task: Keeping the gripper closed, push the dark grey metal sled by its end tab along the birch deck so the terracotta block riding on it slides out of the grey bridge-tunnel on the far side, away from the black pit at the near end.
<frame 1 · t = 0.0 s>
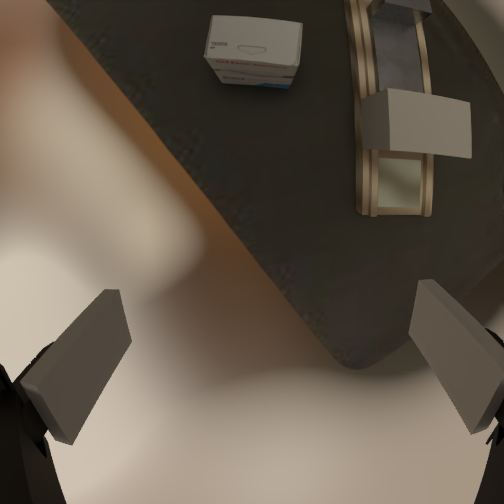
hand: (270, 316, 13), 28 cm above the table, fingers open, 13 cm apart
ink box: (256, 68, 34), on the table
sled: (407, 67, 27), point 6 cm above the table, slide at 0.0 cm
deck: (388, 86, 34), on the table
tunnel: (390, 127, 35), resting on deck
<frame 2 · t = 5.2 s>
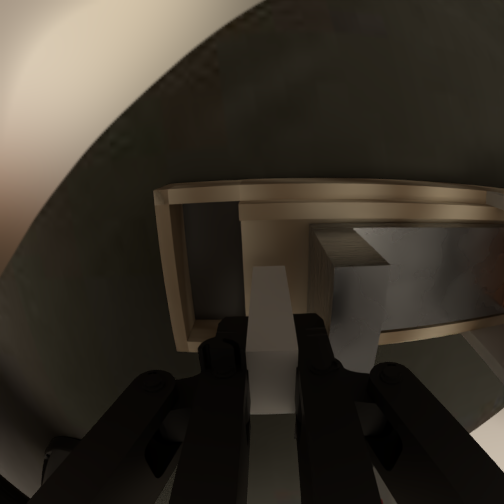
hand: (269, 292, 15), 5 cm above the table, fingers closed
ink box: (366, 422, 25), on the table
sled: (475, 292, 13), point 6 cm above the table, slide at 1.4 cm, touching gripper
deck: (424, 253, 19), on the table
tunnel: (482, 251, 19), resting on deck
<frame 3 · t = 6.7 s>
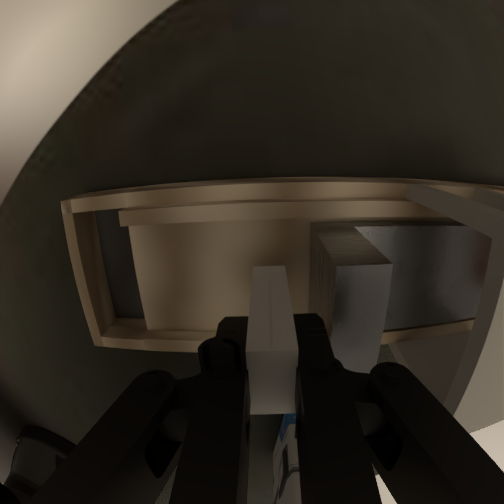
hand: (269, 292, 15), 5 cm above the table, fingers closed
ink box: (303, 429, 25), on the table
sled: (477, 290, 13), point 6 cm above the table, slide at 7.6 cm, touching gripper
deck: (342, 255, 19), on the table
tunnel: (420, 252, 19), resting on deck
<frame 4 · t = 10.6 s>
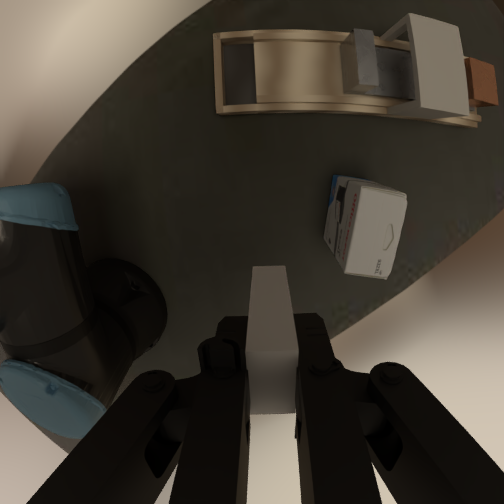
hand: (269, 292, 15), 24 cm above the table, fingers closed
ink box: (345, 209, 38), on the table
sled: (423, 73, 26), point 6 cm above the table, slide at 7.7 cm
deck: (355, 76, 32), on the table
tunnel: (397, 81, 32), resting on deck
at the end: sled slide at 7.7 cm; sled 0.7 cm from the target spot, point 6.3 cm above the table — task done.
